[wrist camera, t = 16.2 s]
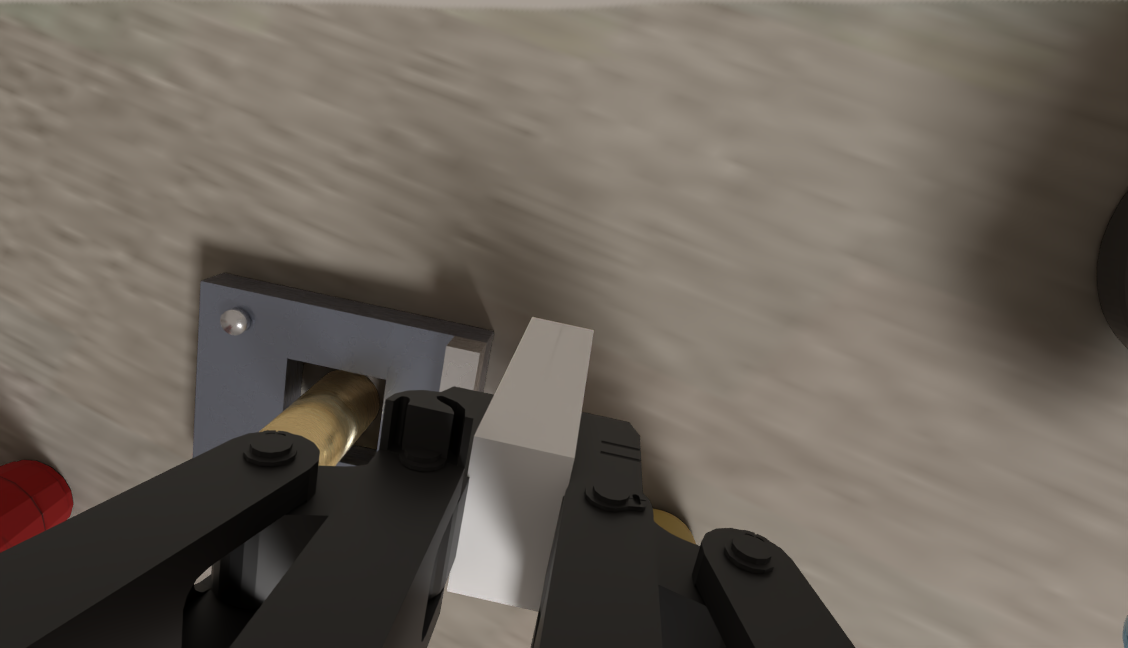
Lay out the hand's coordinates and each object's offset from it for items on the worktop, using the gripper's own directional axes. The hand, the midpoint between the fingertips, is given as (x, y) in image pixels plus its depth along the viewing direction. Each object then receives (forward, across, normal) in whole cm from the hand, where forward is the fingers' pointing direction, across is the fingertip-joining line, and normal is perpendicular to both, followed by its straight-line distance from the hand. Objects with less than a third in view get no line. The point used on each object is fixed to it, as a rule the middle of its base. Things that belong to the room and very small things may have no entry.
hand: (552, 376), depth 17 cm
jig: (+26, +14, +15) cm, 33 cm away
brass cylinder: (+26, +14, +15) cm, 33 cm away
